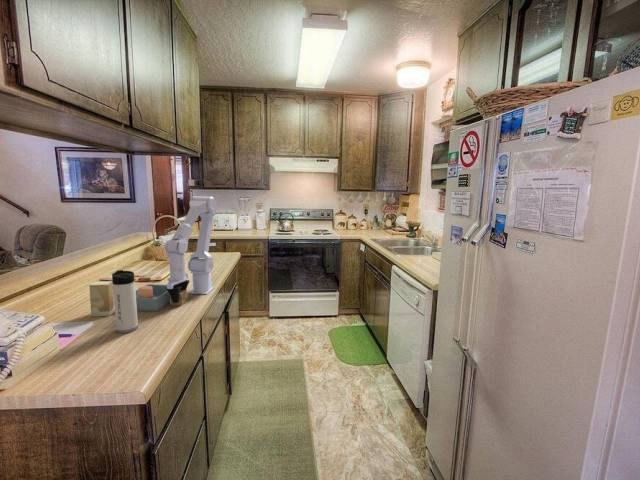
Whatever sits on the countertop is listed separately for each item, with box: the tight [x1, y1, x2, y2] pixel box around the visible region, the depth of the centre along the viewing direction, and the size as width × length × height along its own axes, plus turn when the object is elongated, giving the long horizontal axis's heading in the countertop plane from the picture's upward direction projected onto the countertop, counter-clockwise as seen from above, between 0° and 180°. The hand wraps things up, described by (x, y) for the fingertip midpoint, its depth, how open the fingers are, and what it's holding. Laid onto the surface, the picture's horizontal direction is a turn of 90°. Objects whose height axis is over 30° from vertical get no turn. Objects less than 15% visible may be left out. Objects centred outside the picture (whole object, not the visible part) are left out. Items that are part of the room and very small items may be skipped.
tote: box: [135, 283, 170, 312], centre depth 127 cm, size 17×13×5 cm
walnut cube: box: [169, 289, 189, 307], centre depth 127 cm, size 5×5×5 cm
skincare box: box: [88, 280, 115, 317], centre depth 114 cm, size 6×4×12 cm
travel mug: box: [111, 269, 139, 334], centre depth 102 cm, size 6×7×20 cm
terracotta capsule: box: [137, 285, 153, 299], centre depth 123 cm, size 5×5×7 cm
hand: (178, 299), depth 127 cm, fingers closed on walnut cube, 5 cm apart
